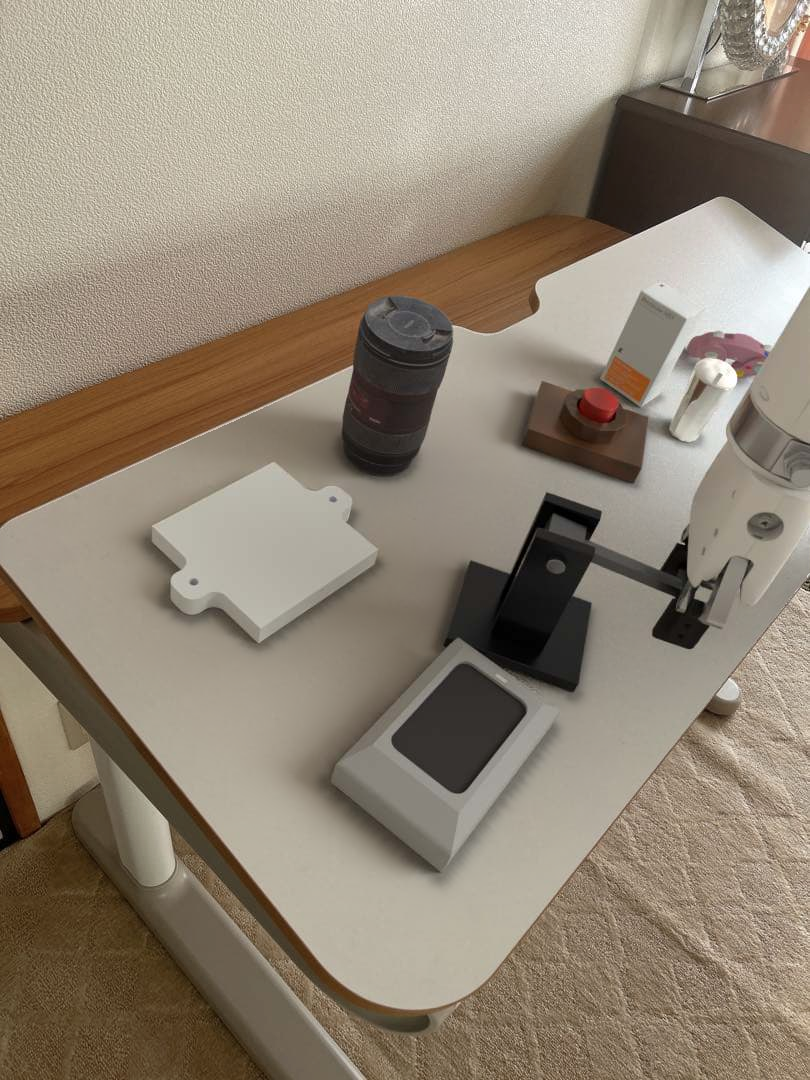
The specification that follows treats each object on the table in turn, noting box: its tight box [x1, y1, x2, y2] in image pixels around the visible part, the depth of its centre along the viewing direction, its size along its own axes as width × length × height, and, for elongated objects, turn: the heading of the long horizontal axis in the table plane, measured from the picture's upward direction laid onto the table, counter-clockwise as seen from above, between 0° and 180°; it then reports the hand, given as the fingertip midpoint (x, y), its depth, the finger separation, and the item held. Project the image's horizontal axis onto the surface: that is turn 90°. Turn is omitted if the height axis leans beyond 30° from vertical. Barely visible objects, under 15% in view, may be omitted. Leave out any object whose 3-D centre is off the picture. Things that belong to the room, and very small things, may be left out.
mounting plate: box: [151, 461, 379, 644], centre depth 73 cm, size 18×13×2 cm
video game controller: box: [686, 330, 773, 379], centre depth 106 cm, size 10×5×7 cm, turn 81°
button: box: [579, 386, 619, 423], centre depth 90 cm, size 4×4×2 cm
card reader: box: [329, 638, 560, 874], centre depth 63 cm, size 10×4×15 cm
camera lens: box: [341, 295, 454, 477], centre depth 79 cm, size 8×8×15 cm
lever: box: [543, 513, 696, 599], centre depth 66 cm, size 12×5×2 cm, turn 75°
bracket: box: [442, 491, 603, 693], centre depth 69 cm, size 11×9×13 cm
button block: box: [521, 380, 649, 484], centre depth 92 cm, size 12×9×4 cm
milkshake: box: [668, 358, 738, 443], centre depth 94 cm, size 4×5×10 cm
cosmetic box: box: [599, 280, 706, 408], centre depth 97 cm, size 6×4×12 cm
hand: (674, 610), depth 68 cm, fingers closed on lever, 5 cm apart
